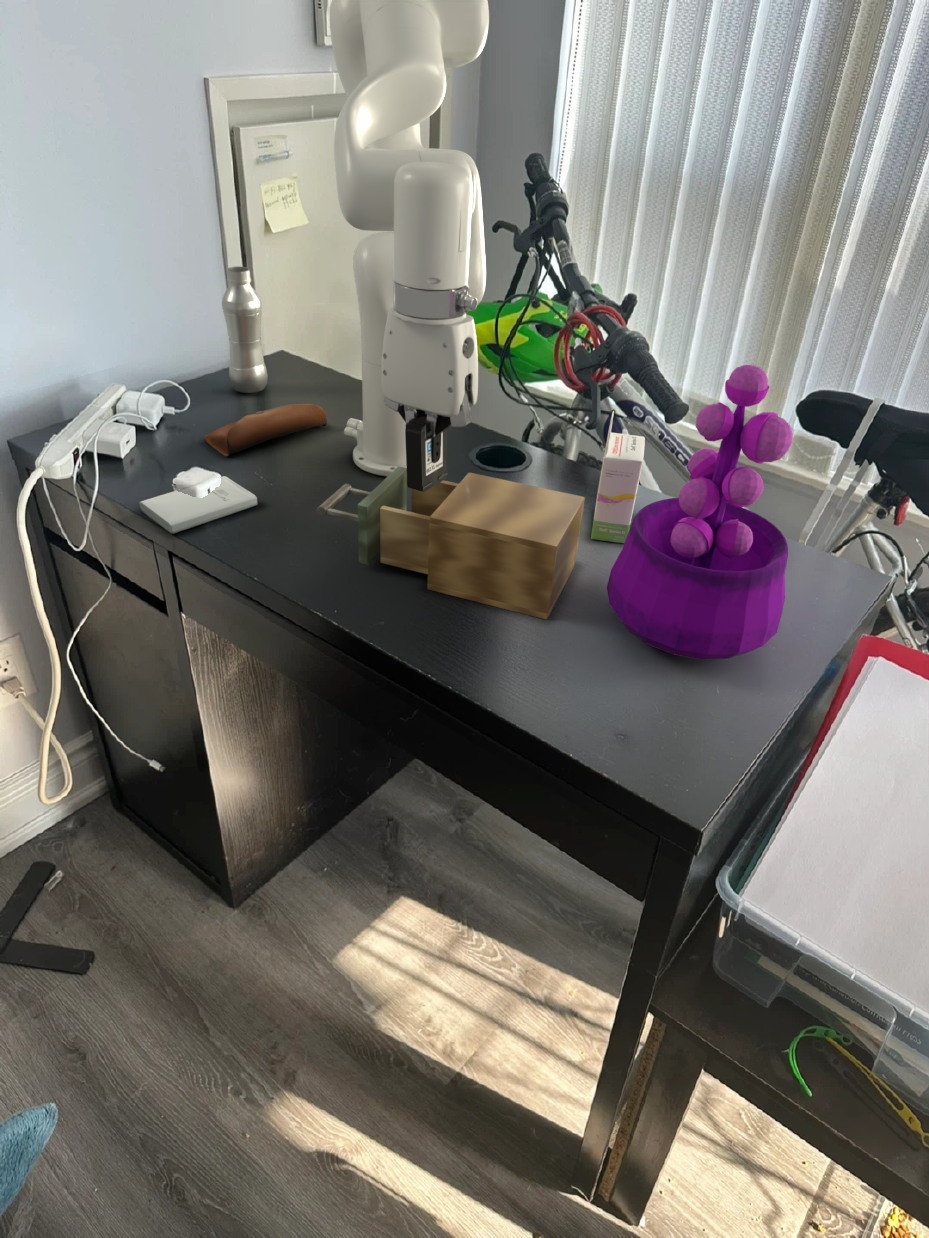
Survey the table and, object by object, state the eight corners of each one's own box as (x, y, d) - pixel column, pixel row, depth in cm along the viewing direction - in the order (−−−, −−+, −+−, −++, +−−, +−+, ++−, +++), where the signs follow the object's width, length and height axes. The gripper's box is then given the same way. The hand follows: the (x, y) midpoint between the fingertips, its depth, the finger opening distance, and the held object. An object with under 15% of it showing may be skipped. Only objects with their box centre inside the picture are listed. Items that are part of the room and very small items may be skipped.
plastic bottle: (224, 395, 143) (210, 272, 132) (239, 382, 149) (227, 262, 137) (260, 399, 143) (249, 276, 131) (274, 386, 148) (265, 266, 137)
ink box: (628, 545, 109) (648, 439, 100) (589, 540, 110) (607, 433, 101) (630, 515, 116) (650, 413, 107) (594, 510, 116) (611, 408, 108)
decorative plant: (766, 598, 100) (845, 348, 83) (777, 696, 85) (876, 416, 68) (608, 572, 103) (653, 325, 86) (593, 662, 88) (643, 386, 71)
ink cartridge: (423, 494, 95) (421, 426, 91) (406, 489, 96) (404, 422, 92) (447, 478, 99) (447, 413, 94) (431, 474, 100) (430, 409, 95)
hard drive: (141, 511, 109) (224, 484, 117) (172, 536, 105) (257, 506, 112) (138, 500, 108) (223, 474, 116) (170, 524, 104) (256, 495, 111)
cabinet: (427, 589, 98) (429, 517, 92) (464, 540, 108) (468, 472, 102) (546, 620, 94) (556, 546, 89) (574, 566, 104) (585, 496, 98)
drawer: (309, 550, 102) (305, 492, 97) (351, 510, 111) (350, 455, 106) (464, 589, 97) (468, 530, 92) (495, 544, 106) (500, 488, 101)
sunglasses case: (295, 410, 138) (306, 382, 133) (319, 442, 137) (331, 415, 132) (199, 438, 128) (206, 409, 122) (224, 473, 126) (232, 445, 121)
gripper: (511, 306, 86) (497, 470, 96) (390, 280, 91) (390, 438, 102) (475, 322, 80) (464, 495, 91) (349, 294, 86) (353, 459, 97)
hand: (425, 464), depth 96 cm, fingers closed
